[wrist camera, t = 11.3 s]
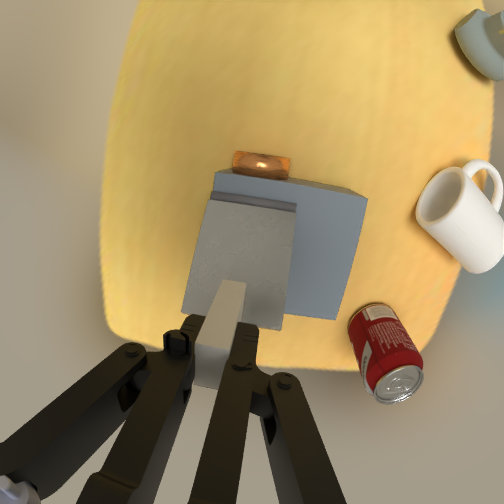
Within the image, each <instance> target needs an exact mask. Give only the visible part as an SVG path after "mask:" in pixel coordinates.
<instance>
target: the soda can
mask: <svg viewBox="0 0 504 504" xmlns="http://www.w3.org/2000/svg"><path fill="white" fill-rule="evenodd" d="M348 334H349V338H350V341H351V344H352V347H353V350H354V353H355V356H356V360H357V363H358V366H359V369H360V373H361V376H362V379H363V383H364V386H365V389H366V390H367V391H368V393H369V394H371V395H373V396H374V398H375V400H376V401H377V402H379V403H381V404H386V405H389V404H395V403H399V402H401V401H403V400H405V399H407V398H409V397H410V396H412V395H413V394H414V393H415V392H416V391H417V390H418V389H419V387H420V386H421V384H422V382H423V379H424V375H423V372H422V369H423V360H422V357H421V355H420V354H419V352H418V350H417V348H416V347H415V345H414V343H413V342H412V340H411V338H410V337H409V335H408V333H407V332H406V330H405V328H404V327H403V325H402V323H401V322H400V320H399V319H398V317H397V315H396V314H395V312H394V311H393V309H392V308H390V307H389V306H387V305H384V304H372V305H369V306H366V307H364V308H363V309H361V310H360V311H358V312H357V313H356V314H355V315H354V317H353V318H352V319H351V321H350V324H349V327H348Z"/></svg>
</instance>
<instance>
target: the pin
mask: <svg viewBox="0 0 504 504" xmlns="http://www.w3.org/2000/svg"><path fill="white" fill-rule="evenodd" d="M290 160H291V159H289V158H283V157H277V156H270V155H264V154H257V153H249V152H241V151H235V152H234V160H233V167H232V172H233V173H236V174H241V175H246V176H252V177H259V178H266V179H275V180H287V179H288V173H289V167H290Z"/></svg>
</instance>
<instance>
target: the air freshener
mask: <svg viewBox="0 0 504 504" xmlns="http://www.w3.org/2000/svg"><path fill="white" fill-rule="evenodd" d="M454 31H455V35H456V39H457V41H458V44H459V46H460V48H461V50H462V51H463V53H464V55H465V56H466V58H467V59H468V60H469V61H470V63H471V64H472V65H473V66H474V67H475V68H476V69H477V70H478V71H479V72H480V73H482V74H483V75H484V76H486V77H488V78H489V79H491V80H494V81H501V80H503V79H504V11H501V12H499V13H497V14H495V15H493V16H490V15H489V14H488V13H486V12H484V11H482V10H480V9H475V10H473V11H472V12H471V13H469V14H468V15H467V16H466V17H465V18H464V19H463V20H462V21H461V22H460V23H459V24H458V25H457V26H456V28H455V30H454Z"/></svg>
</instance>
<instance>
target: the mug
mask: <svg viewBox="0 0 504 504" xmlns="http://www.w3.org/2000/svg"><path fill="white" fill-rule="evenodd" d="M480 169H485V170H486V171H487V172H488V173H489V174H490V175H491V177H492V178H493V180H494V184H495V190H494V195H493V198H492V200H491V203H490V202H489V200H488V199H487V198H486V197H485V195H484V194H483V193H482V191H481V190H480V189H479V188H478V187H477V185H476V184H475V183H474V182H473V181H472V179H471V178H472V176H473V175H474V174H475V173H476V172H477V171H478V170H480ZM502 198H503V184H502V180H501V177H500V175H499V173H498V171H497V170H496V169H495V168H494V167H493V166H492V165H491V164H490V163H488V162H486V161H484V160H481V159H473V160H470V161H469V162H467V163H466V164H465V165H464V166H463V168H462V169H461V168H459V167H455V166H453V167H448V168H445V169H443V170H442V171H440V172H439V173H437V174H436V175H435V176H434V177H433V178H432V179H431V180H430V181H429V182H428V184H427V185H426V186H425V188H424V189H423V191H422V193H421V195H420V197H419V200H418V202H417V206H416V220H417V222H418V224H419V225H420V226H421V227H422V228H423V229H424V230H426V231H427V232H428V233H429V234H430V235H431V236H432V237H433V238H434V239H435V240H436V241H437V242H439V243H440V244H441V245H442V246H443V247H444V248H445V249H446V250H447V251H448V252H449V253H450V254H451V255H452V256H453V257H454V258H455V259H456V260H457V261H458V262H459V263H460V264H461V265H462V266H463V267H464V268H465V269H466V270H467V271H469V272H471V273H483V272H486V271H488V270H489V269H491V268H492V267H494V266H495V265H496V264H497V263H498V262H499V261H500V259H501V257H502V256H503V254H504V221H503V220H502V218H501V217H500V215H499V214H498V211H499V209H500V206H501V203H502Z"/></svg>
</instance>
